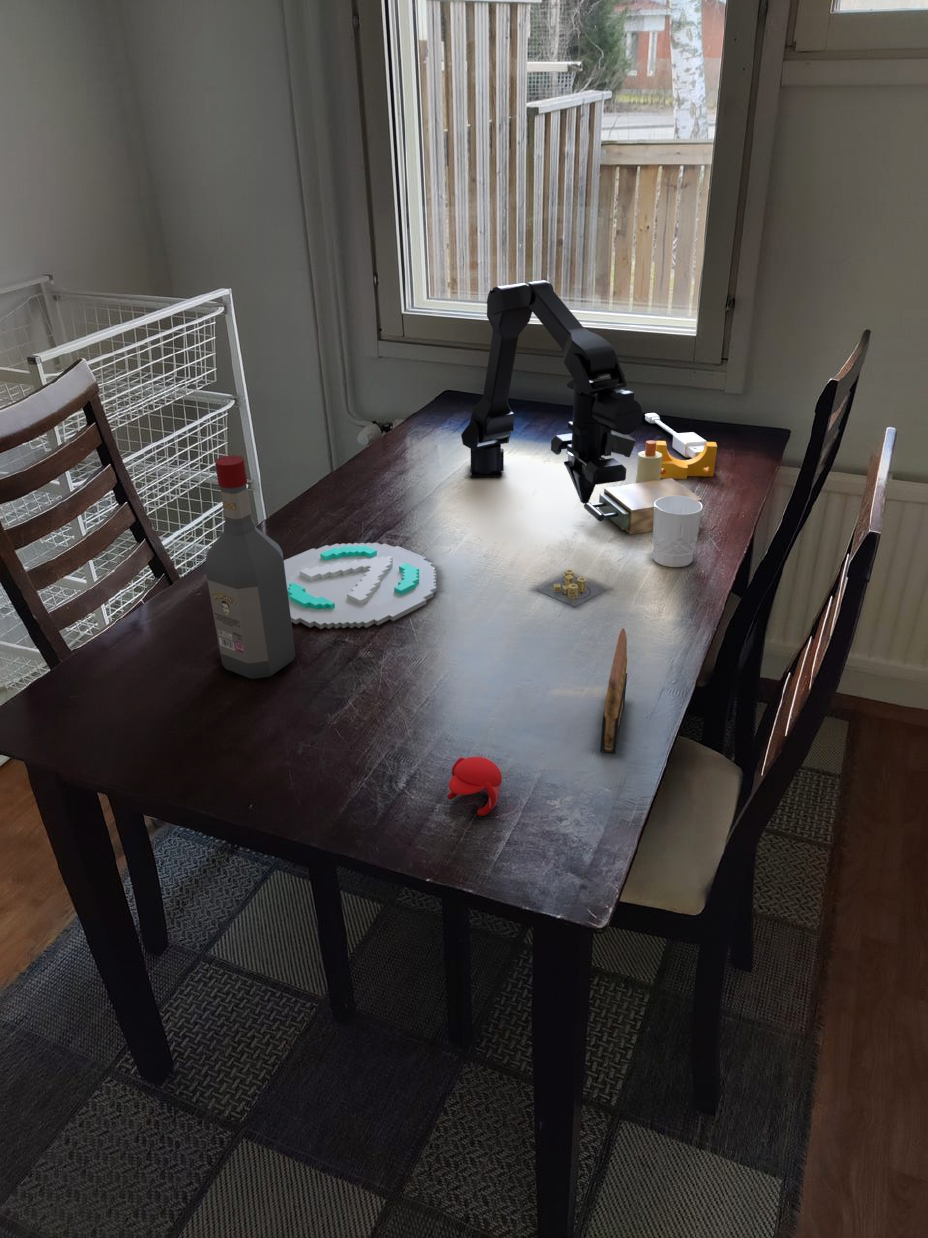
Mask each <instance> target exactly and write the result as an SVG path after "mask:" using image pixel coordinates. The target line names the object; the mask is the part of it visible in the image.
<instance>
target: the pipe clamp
mask: <svg viewBox="0 0 928 1238" xmlns="http://www.w3.org/2000/svg"><path fill="white" fill-rule="evenodd" d="M655 441H656V442H657V443H656V451H657V452H660V453H661V454H662V462H661V473H660V479H668V478H672V479H673V480H676V479H678V480H687V479H688V477H714V474H715V465H716V458H717V450H718V445H717V442H716V441H707V442H706V444H705V447H704V449H703V451H702V452H701V453H700V454H699V455H698V456H696V457H695V458H690V459H678V458H676V457H674V456H673V455H672V454H670V452H669V450H668V447H667V445H668V444H667V441H666V440H655Z"/></svg>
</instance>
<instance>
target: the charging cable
mask: <svg viewBox="0 0 928 1238" xmlns="http://www.w3.org/2000/svg"><path fill="white" fill-rule="evenodd" d="M644 416H645V417H644V420H645V421H646V422H648V423H649V424H657V425H658V426H659V427H661V428H662V429H663V430H664V431H666V432H668V433H669V434H671V435H672V445H671V446H672V447H671V448H673V450H675V451H677V452H678V453H679V454H681V455H682V457H684V458H691V459H693V458H695V457H696V456H698V455H699V454H700V453H701V452H702V451H703V449H704V447H705V444H706V442H708V441H707V440H706V439H704V438H703V437H701V436H700V435H698V434H697V433H696V432H694V431H691V432H679V433H678V432H676V431H674V429H672V428H670V427H669V426H668V425H666V424H665V423H663V421H661V417H660V415H659V414H657V413H655V412H650V413H645V414H644Z"/></svg>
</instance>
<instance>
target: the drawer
mask: <svg viewBox="0 0 928 1238" xmlns="http://www.w3.org/2000/svg"><path fill="white" fill-rule="evenodd" d="M583 508H584V509H585V510H586V511H587V512H588V513H589V514H590V515H592V517H594V518H595V520H597V521H598V522H603V521H604V520H605V519H609V520H611V521H612V522H613V523H615V525H617V526H618V527H619V528H620V529H621V530H622V531H626V530H625V529H629V523H630V511H628V510H627V509H626V508H625V507H624V506H622V505H621V504H620V503H619V502H617V501H616V500H615V499H614V498H611V497H609V496H608V495H607V494H606V493H604V492H603V493H599V498H598V502H596V503H591V502H590V501H589V502H588V503H585V504H584V505H583Z"/></svg>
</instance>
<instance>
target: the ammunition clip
mask: <svg viewBox="0 0 928 1238" xmlns="http://www.w3.org/2000/svg"><path fill="white" fill-rule="evenodd" d="M615 646H616V647H615V652H614V655H613V660H612V665H611V669H610V674H609V678H608V685H607V691H606V694H605V699H604V701H605V702H604V710H603V714H602V722H601V734H600V745H599V746H600V749H599V751H600V752H601V753H609V754H615V755H616V751H617V747H618V742H619V737H620V731H621V725H622V722H623V721H622V720H623V715H624V710H625V705H626V695H627V694H626V693H627V681H628V673H627V670H628V669H627V668H628V654H627V653H628V652H627V651H628V648H627V647H628V638H627V633H626V630H625V628H621V630H620V632H619V634H618V638H617V642H616V645H615Z"/></svg>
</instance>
